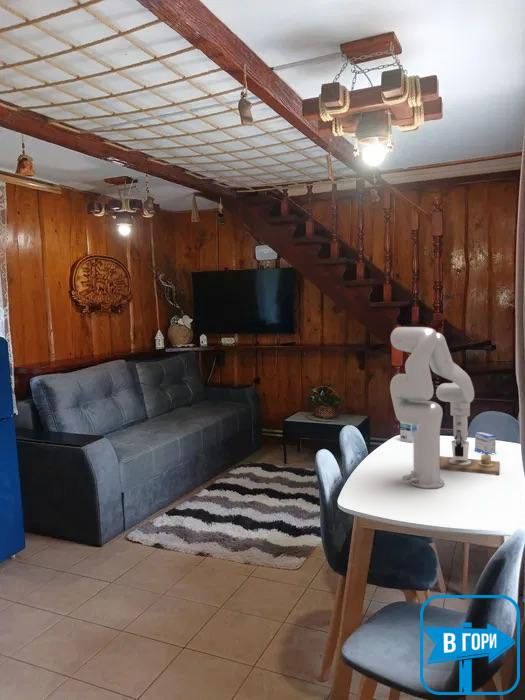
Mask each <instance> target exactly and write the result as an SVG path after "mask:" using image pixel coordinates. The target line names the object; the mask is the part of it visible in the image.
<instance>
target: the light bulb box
mask: <svg viewBox="0 0 525 700" xmlns="http://www.w3.org/2000/svg"><path fill="white" fill-rule="evenodd" d="M399 427H400V428H399V438H400V442H405V443H412V444H413V438H414V434H415V433H416V431H417V430H418V429H419V427H420V426H419V425H415V424H408V423H403V422H400V421H399Z"/></svg>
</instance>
